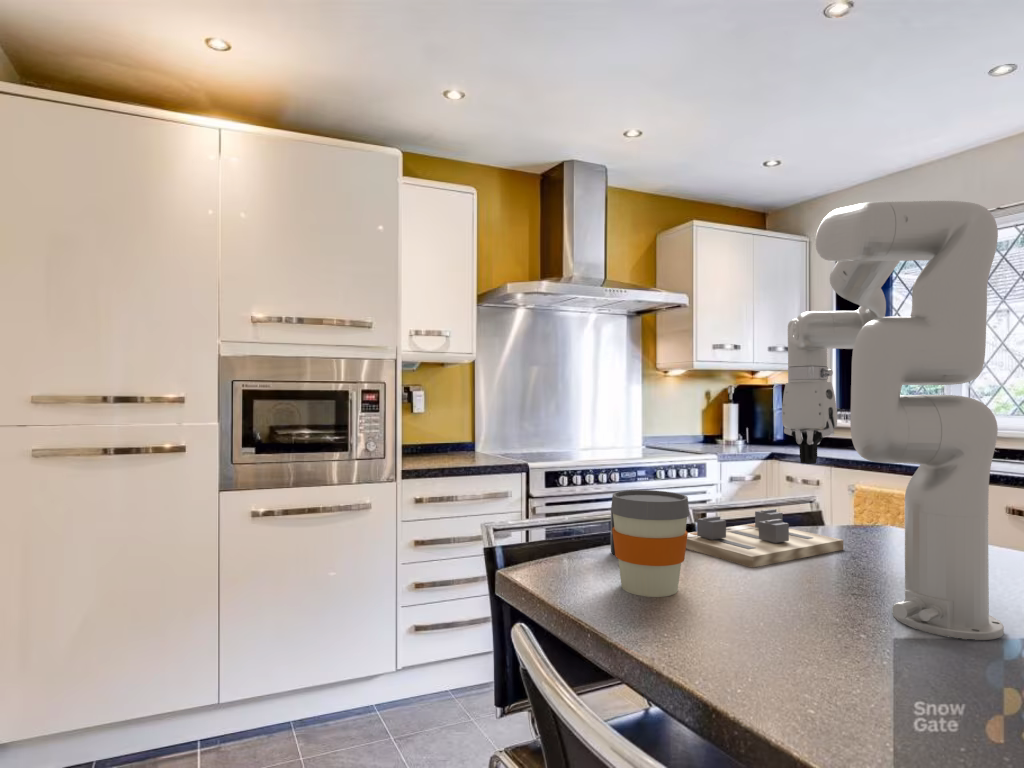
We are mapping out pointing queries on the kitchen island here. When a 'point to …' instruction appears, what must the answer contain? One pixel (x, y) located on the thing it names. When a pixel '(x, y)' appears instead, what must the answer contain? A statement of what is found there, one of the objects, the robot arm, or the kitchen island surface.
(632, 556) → the reusable coffee cup
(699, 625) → the kitchen island surface
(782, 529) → the switch tab
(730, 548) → the switch panel
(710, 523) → the switch tab
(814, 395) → the robot arm
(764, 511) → the switch tab
